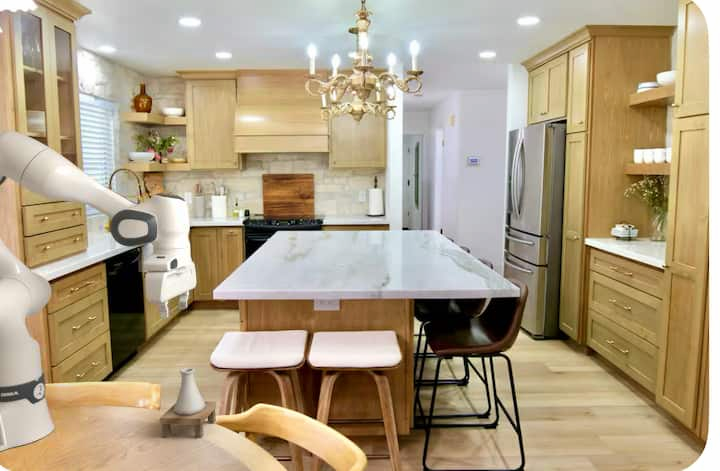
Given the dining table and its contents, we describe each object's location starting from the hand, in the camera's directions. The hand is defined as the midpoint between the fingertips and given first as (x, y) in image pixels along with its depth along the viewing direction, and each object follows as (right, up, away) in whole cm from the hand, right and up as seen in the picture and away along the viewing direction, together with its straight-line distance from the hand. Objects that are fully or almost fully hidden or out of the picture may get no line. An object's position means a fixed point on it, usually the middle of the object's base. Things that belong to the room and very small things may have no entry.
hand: (174, 313), depth 138 cm
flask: (+5, -23, -4) cm, 24 cm away
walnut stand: (+5, -28, -3) cm, 29 cm away
